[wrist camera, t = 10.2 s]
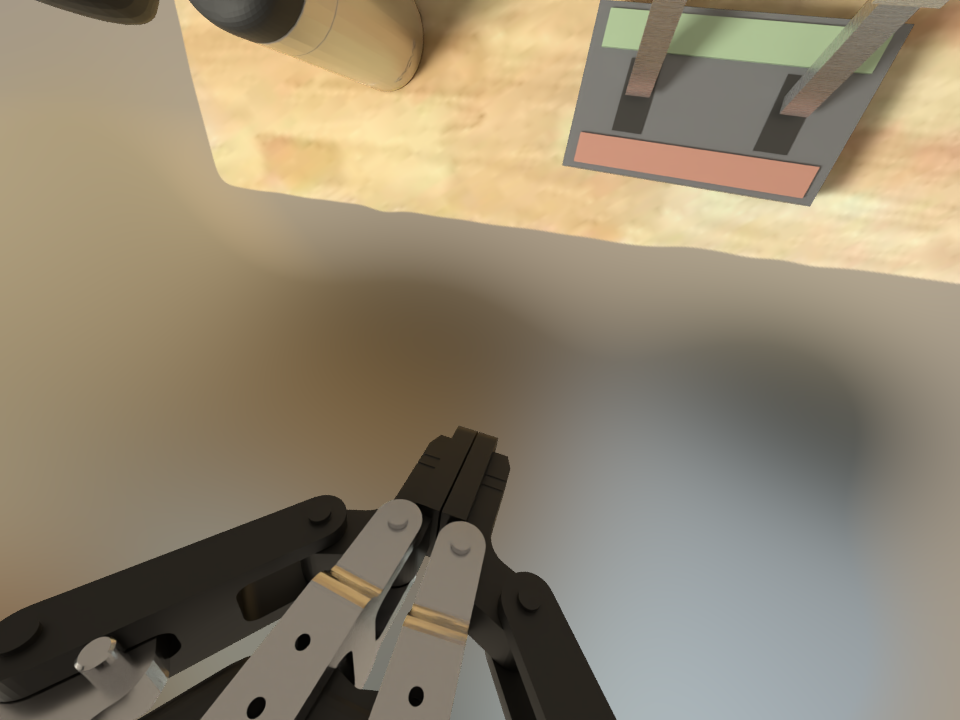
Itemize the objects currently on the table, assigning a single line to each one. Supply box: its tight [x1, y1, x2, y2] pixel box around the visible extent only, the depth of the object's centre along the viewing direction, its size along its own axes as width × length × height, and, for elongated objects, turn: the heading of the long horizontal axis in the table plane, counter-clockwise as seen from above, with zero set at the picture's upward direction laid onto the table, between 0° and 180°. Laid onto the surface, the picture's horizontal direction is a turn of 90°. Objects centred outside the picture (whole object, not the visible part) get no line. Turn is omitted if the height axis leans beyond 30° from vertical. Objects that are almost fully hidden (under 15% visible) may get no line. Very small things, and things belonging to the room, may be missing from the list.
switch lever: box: [779, 0, 949, 117], centre depth 22 cm, size 2×3×11 cm
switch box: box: [563, 0, 914, 206], centre depth 31 cm, size 12×22×4 cm, turn 81°
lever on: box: [625, 0, 687, 98], centre depth 24 cm, size 2×3×11 cm
